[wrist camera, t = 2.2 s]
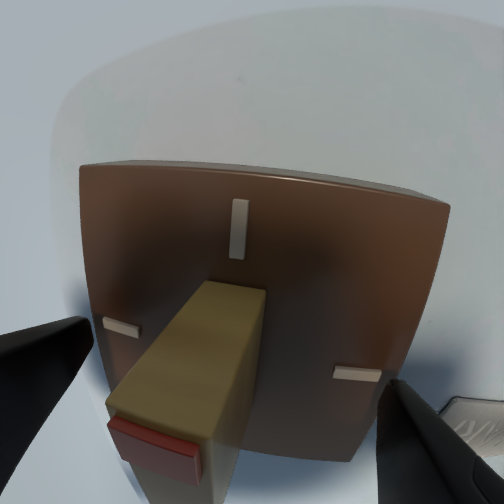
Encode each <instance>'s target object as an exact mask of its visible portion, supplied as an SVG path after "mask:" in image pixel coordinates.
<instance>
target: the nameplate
mask: <svg viewBox="0 0 504 504" xmlns="http://www.w3.org/2000/svg"><path fill="white" fill-rule="evenodd" d="M439 416H440V417H441V418H442V419H443V420H444V421H445V422H446V423H447V424H448V425H449V426H450V427H451V428H452V429H453V430H454V431H455V432H456V433H457V434H458V435H459V436H460V437H461V438H462V439H463V440H464V441H465V442H466V443H467V444H468V445H469V446H470V447H471V448H472V449H473V450H474V451H475V452H476V454H477V455H479V456H480V457H488V456H497V455H504V402H497V401H484V400H474V399H464V398H454V399H453V400H452V401H451V402H450V403H449V405H448V406H447V407H446V408H445V409H444V411H443V412H442V413H441V414H440V415H439ZM477 455H476V456H477Z"/></svg>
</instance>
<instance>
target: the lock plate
mask: <svg viewBox="0 0 504 504" xmlns="http://www.w3.org/2000/svg"><path fill="white" fill-rule="evenodd" d="M79 195H80V219H81V234H82V246H83V256H84V265H85V273H86V281H87V288H88V294H89V300H90V306H91V312H92V317H93V322H94V327H95V332H96V337H97V341H98V346H99V350H100V354H101V358H102V362H103V366H104V370H105V374H106V377H107V381H108V384H109V388H110V391H111V393H112V392H113V390H114V389H115V388H116V387H117V385H118V384H119V383H120V382H121V381H122V379H123V378H124V377H125V376H126V374H127V373H128V372H129V371H130V370H131V368H132V367H133V366H134V365H135V363H136V362H137V361H138V360H139V359H140V357H141V356H142V355H143V354H144V353H145V351H146V350H147V349H148V348H149V346H150V345H151V344H152V343H153V342H154V340H155V339H156V338H157V337H158V336H159V334H160V333H161V332H162V331H163V330H164V328H165V327H166V326H167V325H168V324H169V322H170V321H171V320H172V319H173V318H174V317H175V315H176V314H177V313H178V312H179V311H180V309H181V308H182V307H183V306H184V305H185V303H186V302H187V301H188V300H189V299H190V298H191V296H192V295H193V294H194V293H195V292H196V290H197V289H198V288H199V287H200V286H201V285H202V283H203V282H204V281H213V282H219V283H225V284H231V285H237V286H243V287H249V288H255V289H261V290H265V291H266V301H265V309H264V317H263V325H262V334H261V341H260V349H259V357H258V365H257V373H256V380H255V388H254V395H253V402H252V410H251V414H250V417H249V421H248V424H247V428H246V431H245V434H244V438H243V441H242V445H241V448H240V449H243V450H248V451H253V452H258V453H264V454H270V455H277V456H284V457H291V458H300V459H309V460H320V461H335V462H350V461H351V460H352V458H353V456H354V455H355V453H356V452H357V450H358V449H359V447H360V445H361V444H362V442H363V440H364V439H365V437H366V435H367V434H368V432H369V430H370V428H371V427H372V425H373V423H374V421H375V419H376V418H377V406H378V401H379V398H380V396H381V394H382V392H383V390H384V388H385V386H386V384H387V382H388V381H389V380H390V379H396V378H397V376H398V373H399V371H400V369H401V367H402V365H403V362H404V360H405V358H406V355H407V353H408V350H409V348H410V346H411V343H412V341H413V338H414V335H415V333H416V330H417V328H418V325H419V322H420V319H421V316H422V314H423V311H424V308H425V305H426V302H427V299H428V296H429V293H430V289H431V286H432V283H433V279H434V276H435V272H436V269H437V265H438V261H439V258H440V254H441V250H442V246H443V241H444V237H445V232H446V228H447V223H448V218H449V213H450V205H449V204H448V203H445V202H443V201H440V200H437V199H435V198H432V197H430V196H427V195H424V194H422V193H419V192H416V191H413V190H409V189H405V188H400V187H395V186H390V185H385V184H379V183H374V182H368V181H362V180H357V179H351V178H344V177H338V176H331V175H325V174H317V173H310V172H302V171H294V170H286V169H277V168H268V167H258V166H247V165H235V164H221V163H206V162H187V161H157V160H128V161H116V162H106V163H97V164H88V165H82V166H80V168H79Z"/></svg>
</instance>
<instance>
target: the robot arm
mask: <svg viewBox="0 0 504 504" xmlns="http://www.w3.org/2000/svg"><path fill="white" fill-rule="evenodd" d="M93 344H94V338H93V333H92V329H91V324H90V321H89V320H88V319H87V318H85V317H82V316H74V317H70V318H66V319H62V320H58V321H54V322H51V323H47V324H43V325H40V326H35V327H31V328H27V329H23V330H19V331H15V332H12V333H7V334H3V335H0V495H1V493H2V492H3V490H4V488H5V486H6V484H7V483H8V480H9V479H10V477H11V476H12V474H13V472H14V470H15V468H16V467H17V465H18V463H19V462H20V460H21V458H22V457H23V455H24V454H25V452H26V450H27V449H28V447H29V445H30V444H31V442H32V440H33V439H34V438H35V436H36V434H37V433H38V431H39V430H40V428H41V427H42V425H43V424H44V422H45V421H46V419H47V418H48V416H49V415H50V413H51V412H52V410H53V409H54V407H55V406H56V404H57V403H58V401H59V400H60V399H61V397H62V396H63V394H64V393H65V391H66V390H67V389H68V387H69V386H70V384H71V383H72V381H73V380H74V378H75V376H76V375H77V373H78V371H79V369H80V368H81V366H82V364H83V362H84V361H85V359H86V357H87V355H88V354H89V352H90V350H91V349H92V347H93ZM476 455H477V454H476V452H475V451H474V450H473V449H472V448H471V447H470V446H469V445H468V444H467V443H466V442H465V441H464V440H463V439H462V438H461V437H460V436H459V435H458V434H457V433H456V432H455V431H454V430H453V429H452V428H451V427H450V426H449V425H448V424H447V423H446V422H445V421H444V420H443V419H442V418H441V417H440V416H439V415H438V414H437V413H436V412H435V411H434V410H433V409H432V408H431V407H430V406H429V405H428V404H427V403H426V402H425V401H424V400H423V399H422V398H421V397H420V396H419V395H418V394H417V393H416V392H415V391H414V390H413V389H412V388H411V387H410V386H409V385H408V384H407V383H406V382H405V381H404V380H401V379H390V380H389V381H388V382H387V384H386V386H385V388H384V390H383V392H382V394H381V396H380V398H379V401H378V406H377V440H376V461H377V479H378V504H504V479H502V478H501V477H500V476H499V475H498V474H497V473H496V472H495V471H494V470H493V469H492V468H491V467H490V466H489V465H488V464H486V463H485V461H484V460H483V459H482V458H481V457H480V456H479V455H477V456H476Z"/></svg>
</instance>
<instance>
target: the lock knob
mask: <svg viewBox="0 0 504 504" xmlns="http://www.w3.org/2000/svg"><path fill="white" fill-rule="evenodd" d="M265 301H266V291H265V290H261V289H255V288H249V287H243V286H237V285H231V284H225V283H219V282H213V281H204V282H203V283H202V285H201V286H200V287H199V288H198V289H197V290H196V292H195V293H194V294H193V295H192V296H191V298H190V299H189V300H188V301H187V302H186V303H185V305H184V306H183V307H182V308H181V309H180V311H179V312H178V313H177V314H176V315H175V317H174V318H173V319H172V320H171V321H170V322H169V324H168V325H167V326H166V327H165V328H164V330H163V331H162V332H161V333H160V334H159V336H158V337H157V338H156V339H155V340H154V342H153V343H152V344H151V345H150V346H149V348H148V349H147V350H146V351H145V353H144V354H143V355H142V356H141V357H140V359H139V360H138V361H137V362H136V363H135V365H134V366H133V367H132V368H131V370H130V371H129V372H128V373H127V374H126V376H125V377H124V378H123V379H122V381H121V382H120V383H119V384H118V385H117V387H116V388H115V389H114V390H113V392H112V393H111V394H110V395H109V397H108V398H107V399H106V402H105V405H106V408H107V410H108V413H109V416H110V421H109V422H108V423H107V427H108V429H109V432H110V434H111V437H112V439H113V441H114V443H115V446H116V448H117V450H118V452H119V454H120V456H121V459H123V460H125V461H127V462H129V464H130V466H131V468H132V470H133V472H134V474H135V476H136V478H137V480H138V482H139V484H140V486H141V488H142V490H143V492H144V494H145V496H146V498H147V499H148V501H149V503H150V504H223V502H224V499H225V496H226V493H227V490H228V487H229V484H230V481H231V477H232V474H233V471H234V468H235V464H236V461H237V458H238V455H239V451H240V448H241V445H242V441H243V438H244V434H245V431H246V428H247V424H248V421H249V417H250V414H251V410H252V402H253V395H254V388H255V380H256V373H257V365H258V357H259V349H260V341H261V334H262V325H263V317H264V309H265Z"/></svg>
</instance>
